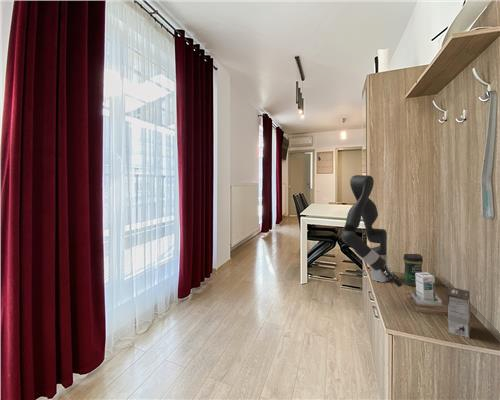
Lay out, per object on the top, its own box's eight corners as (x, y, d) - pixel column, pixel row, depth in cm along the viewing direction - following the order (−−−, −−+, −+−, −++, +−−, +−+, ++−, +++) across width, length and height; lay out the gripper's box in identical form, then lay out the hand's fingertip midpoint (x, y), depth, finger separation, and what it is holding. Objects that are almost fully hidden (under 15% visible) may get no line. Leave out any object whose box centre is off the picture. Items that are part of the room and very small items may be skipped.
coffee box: (450, 322, 103) (449, 286, 102) (470, 328, 98) (470, 290, 97) (448, 332, 96) (447, 294, 95) (469, 339, 92) (468, 298, 91)
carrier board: (406, 293, 131) (406, 290, 131) (436, 296, 126) (436, 293, 126) (416, 311, 113) (416, 308, 113) (453, 315, 107) (452, 312, 107)
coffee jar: (407, 286, 140) (406, 256, 139) (401, 281, 147) (401, 252, 146) (426, 287, 138) (425, 255, 137) (419, 281, 145) (418, 252, 145)
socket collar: (411, 296, 124) (411, 291, 124) (434, 298, 121) (434, 293, 120) (417, 305, 115) (417, 299, 115) (442, 308, 111) (442, 302, 111)
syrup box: (423, 305, 115) (422, 276, 114) (416, 299, 121) (415, 272, 120) (435, 305, 115) (435, 276, 114) (427, 299, 120) (426, 271, 120)
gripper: (380, 258, 118) (408, 283, 114) (376, 251, 131) (401, 272, 127) (369, 268, 120) (396, 292, 116) (366, 260, 133) (390, 281, 129)
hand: (398, 282), depth 122 cm, fingers open, 8 cm apart
